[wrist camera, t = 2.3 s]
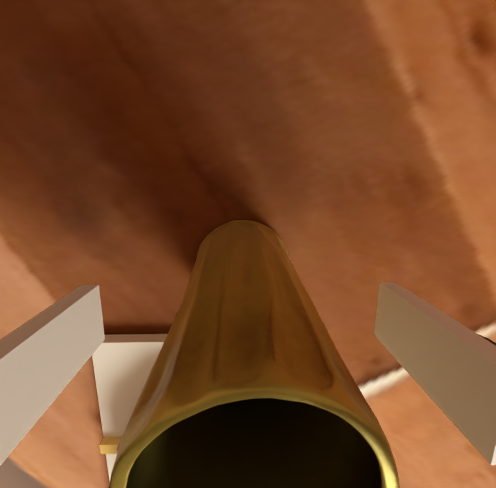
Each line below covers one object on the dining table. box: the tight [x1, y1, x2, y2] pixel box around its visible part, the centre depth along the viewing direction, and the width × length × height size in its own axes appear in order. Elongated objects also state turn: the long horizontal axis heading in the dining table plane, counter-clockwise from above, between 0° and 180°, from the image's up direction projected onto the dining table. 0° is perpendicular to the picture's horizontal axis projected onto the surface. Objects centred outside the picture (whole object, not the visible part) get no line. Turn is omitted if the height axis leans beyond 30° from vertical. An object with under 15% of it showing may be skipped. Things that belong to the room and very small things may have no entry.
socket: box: [92, 334, 167, 481], centre depth 20 cm, size 16×16×4 cm
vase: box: [109, 220, 400, 488], centre depth 12 cm, size 6×6×14 cm
